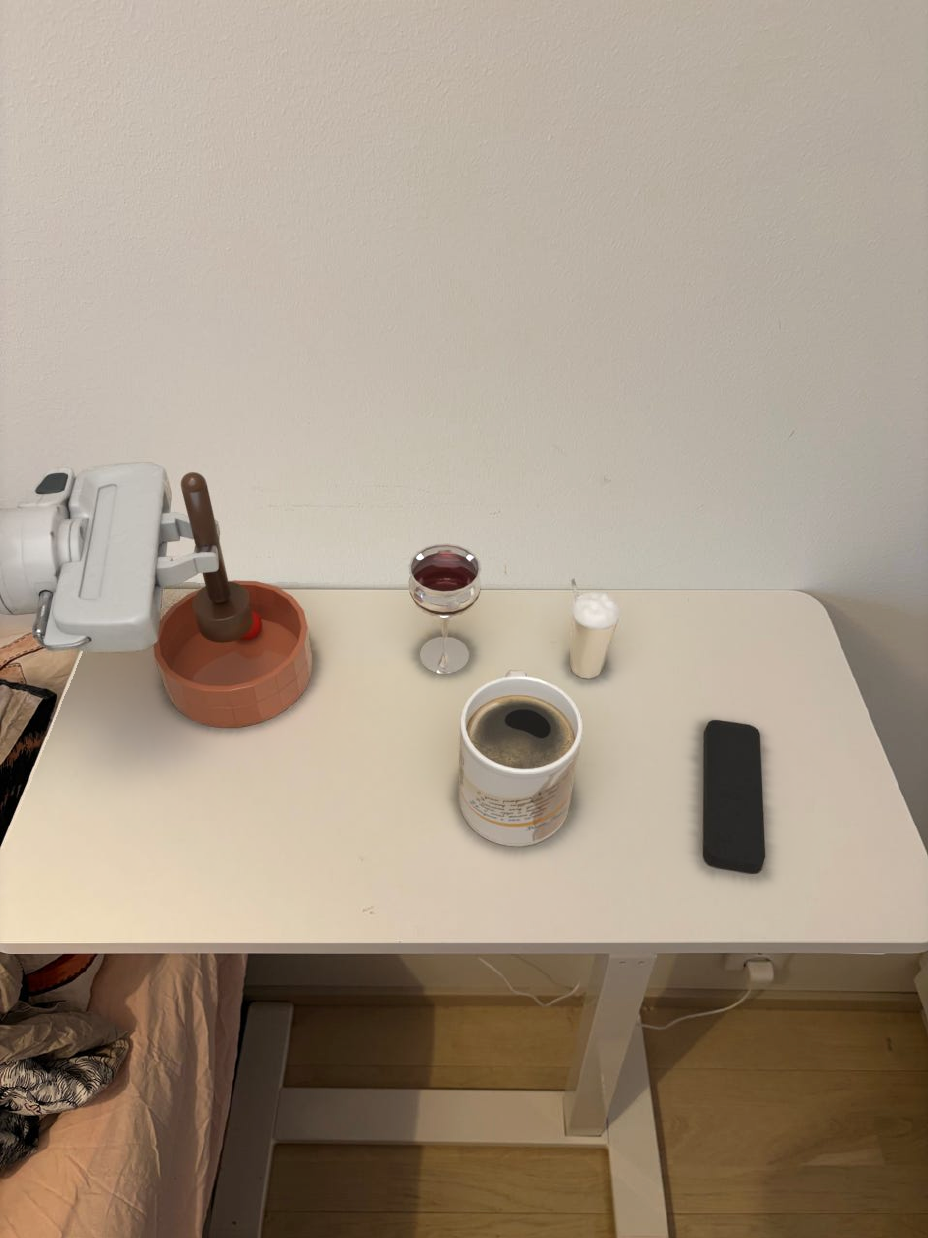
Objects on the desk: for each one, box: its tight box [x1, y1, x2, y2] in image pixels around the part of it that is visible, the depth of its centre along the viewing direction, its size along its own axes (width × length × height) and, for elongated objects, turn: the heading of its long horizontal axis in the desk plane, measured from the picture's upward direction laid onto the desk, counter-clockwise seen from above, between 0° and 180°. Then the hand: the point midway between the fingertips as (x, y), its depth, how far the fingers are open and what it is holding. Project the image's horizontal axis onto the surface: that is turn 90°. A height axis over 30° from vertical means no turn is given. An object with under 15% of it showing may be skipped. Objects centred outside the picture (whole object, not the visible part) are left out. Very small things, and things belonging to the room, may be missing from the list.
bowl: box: [152, 579, 313, 729], centre depth 90 cm, size 14×14×6 cm
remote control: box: [702, 719, 766, 874], centre depth 82 cm, size 5×2×15 cm
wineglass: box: [408, 543, 482, 675], centre depth 90 cm, size 7×7×12 cm
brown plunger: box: [180, 471, 254, 643], centre depth 80 cm, size 5×5×17 cm
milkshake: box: [569, 578, 621, 680], centre depth 90 cm, size 5×5×10 cm
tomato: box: [241, 611, 262, 639], centre depth 93 cm, size 3×3×3 cm
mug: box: [458, 669, 584, 847], centre depth 79 cm, size 10×12×11 cm
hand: (218, 544), depth 79 cm, fingers closed on brown plunger
